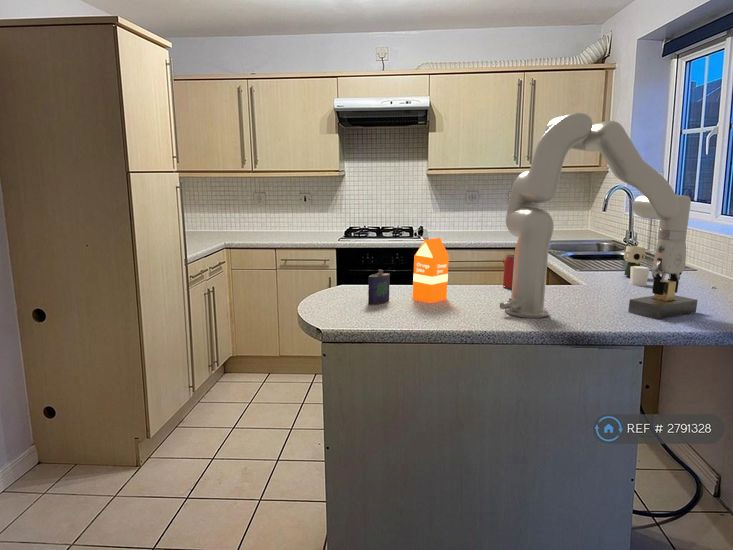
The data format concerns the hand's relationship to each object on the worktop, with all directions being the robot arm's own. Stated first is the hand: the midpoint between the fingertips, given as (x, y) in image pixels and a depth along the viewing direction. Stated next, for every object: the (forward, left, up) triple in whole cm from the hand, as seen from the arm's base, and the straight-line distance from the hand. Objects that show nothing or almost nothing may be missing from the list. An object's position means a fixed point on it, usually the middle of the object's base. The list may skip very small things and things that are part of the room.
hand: (664, 292), depth 171 cm
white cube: (+36, +31, -7) cm, 48 cm away
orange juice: (-56, +46, -7) cm, 73 cm away
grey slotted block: (0, 0, -6) cm, 6 cm away
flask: (-74, +49, -7) cm, 89 cm away
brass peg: (0, 0, -6) cm, 6 cm away
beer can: (-16, +48, -7) cm, 51 cm away
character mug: (+49, +42, -7) cm, 65 cm away
